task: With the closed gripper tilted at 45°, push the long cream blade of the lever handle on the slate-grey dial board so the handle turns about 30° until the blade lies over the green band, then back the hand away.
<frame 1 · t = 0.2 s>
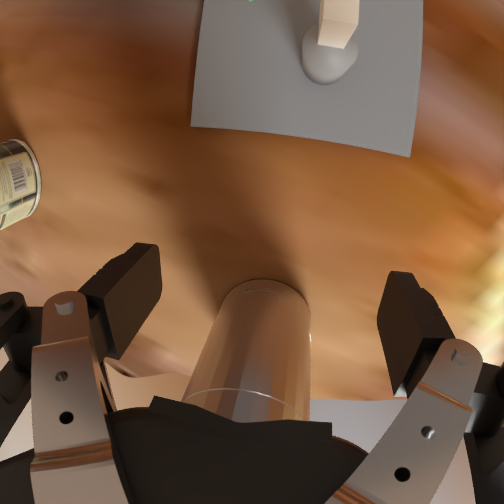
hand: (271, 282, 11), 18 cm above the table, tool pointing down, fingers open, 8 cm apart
coffee can: (17, 179, 31), on the table
dial board: (312, 35, 22), on the table
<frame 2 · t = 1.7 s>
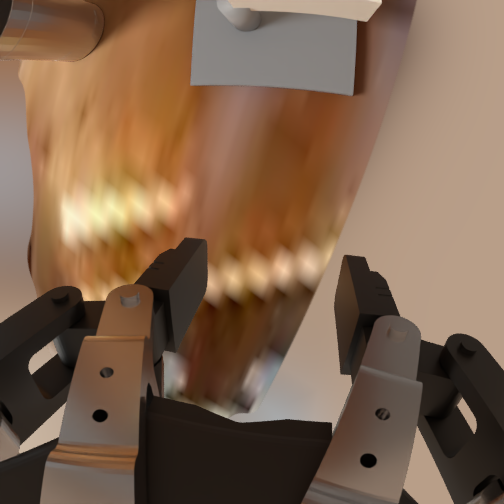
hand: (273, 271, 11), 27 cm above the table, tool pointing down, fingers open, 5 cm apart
lever handle: (292, 5, 22), point 8 cm above the table, hinge at 0.0°
dial board: (275, 16, 29), on the table
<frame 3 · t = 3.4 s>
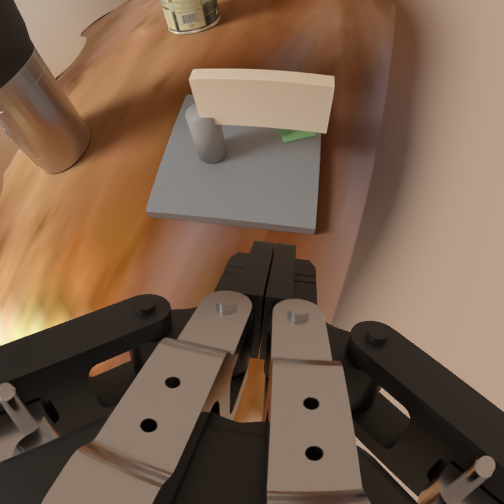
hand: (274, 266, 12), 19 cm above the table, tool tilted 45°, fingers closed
lever handle: (255, 119, 29), point 8 cm above the table, hinge at 0.0°
coffee can: (193, 22, 49), on the table
dial board: (241, 155, 37), on the table
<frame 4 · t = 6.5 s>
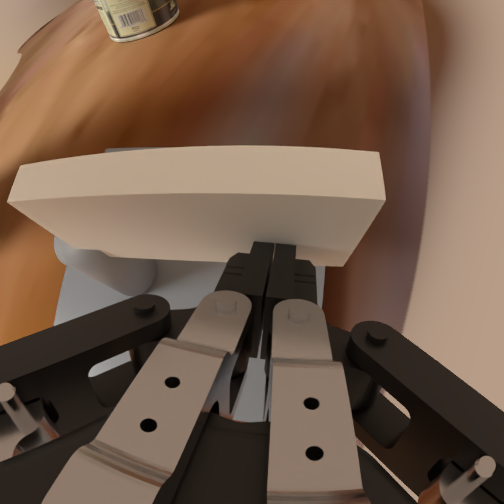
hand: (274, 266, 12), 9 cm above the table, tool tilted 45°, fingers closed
lever handle: (185, 243, 14), point 8 cm above the table, hinge at 4.1°, touching gripper
coffee can: (143, 23, 34), on the table
dial board: (186, 270, 22), on the table
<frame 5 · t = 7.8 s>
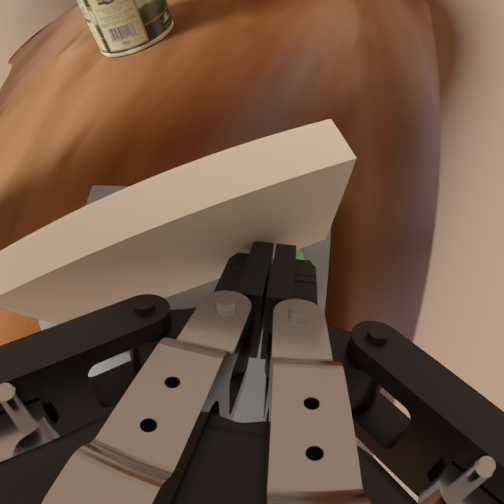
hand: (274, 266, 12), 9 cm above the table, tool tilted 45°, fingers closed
lever handle: (169, 277, 13), point 8 cm above the table, hinge at 28.0°, touching gripper
coffee can: (136, 35, 32), on the table
dial board: (178, 324, 20), on the table
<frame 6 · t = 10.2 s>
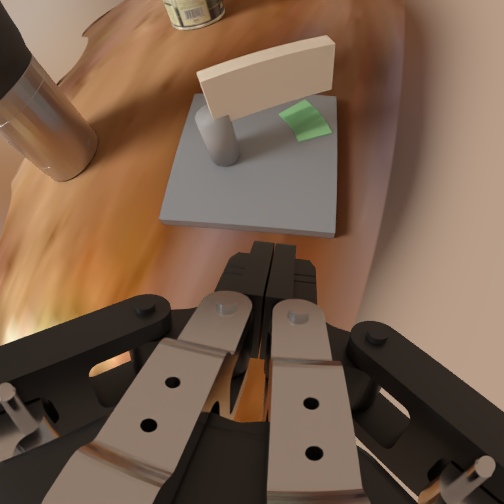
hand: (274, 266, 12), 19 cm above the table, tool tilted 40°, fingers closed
lever handle: (265, 102, 28), point 8 cm above the table, hinge at 28.1°
coffee can: (198, 17, 47), on the table
dial board: (255, 156, 35), on the table
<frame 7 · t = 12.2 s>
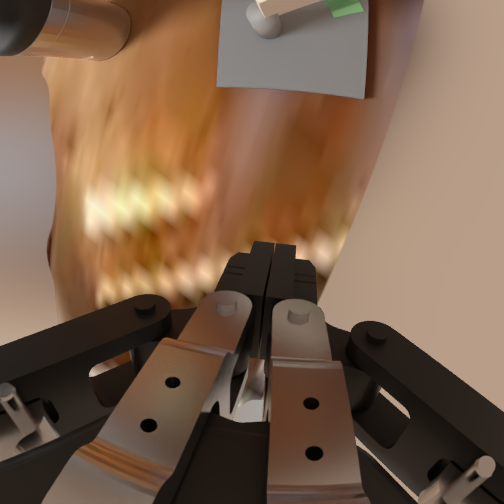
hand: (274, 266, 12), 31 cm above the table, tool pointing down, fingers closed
dial board: (294, 25, 32), on the table
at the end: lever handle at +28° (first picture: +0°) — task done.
